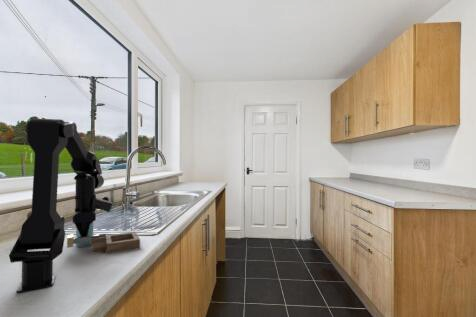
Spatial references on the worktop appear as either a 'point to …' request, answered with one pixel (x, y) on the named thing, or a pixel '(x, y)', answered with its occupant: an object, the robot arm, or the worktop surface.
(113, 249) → the dock
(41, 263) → the robot arm
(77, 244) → the peg
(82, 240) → the lock bolt
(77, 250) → the worktop surface
